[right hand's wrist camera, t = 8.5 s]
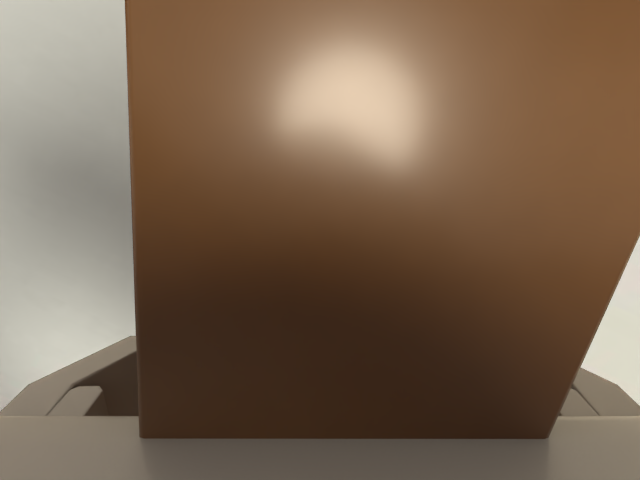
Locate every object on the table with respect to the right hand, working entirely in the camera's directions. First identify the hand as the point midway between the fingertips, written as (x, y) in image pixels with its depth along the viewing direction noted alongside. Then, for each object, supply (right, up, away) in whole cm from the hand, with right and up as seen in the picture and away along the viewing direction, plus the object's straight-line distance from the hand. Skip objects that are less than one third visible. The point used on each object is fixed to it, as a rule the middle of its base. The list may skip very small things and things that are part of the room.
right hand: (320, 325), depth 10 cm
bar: (+1, +8, +1) cm, 8 cm away
